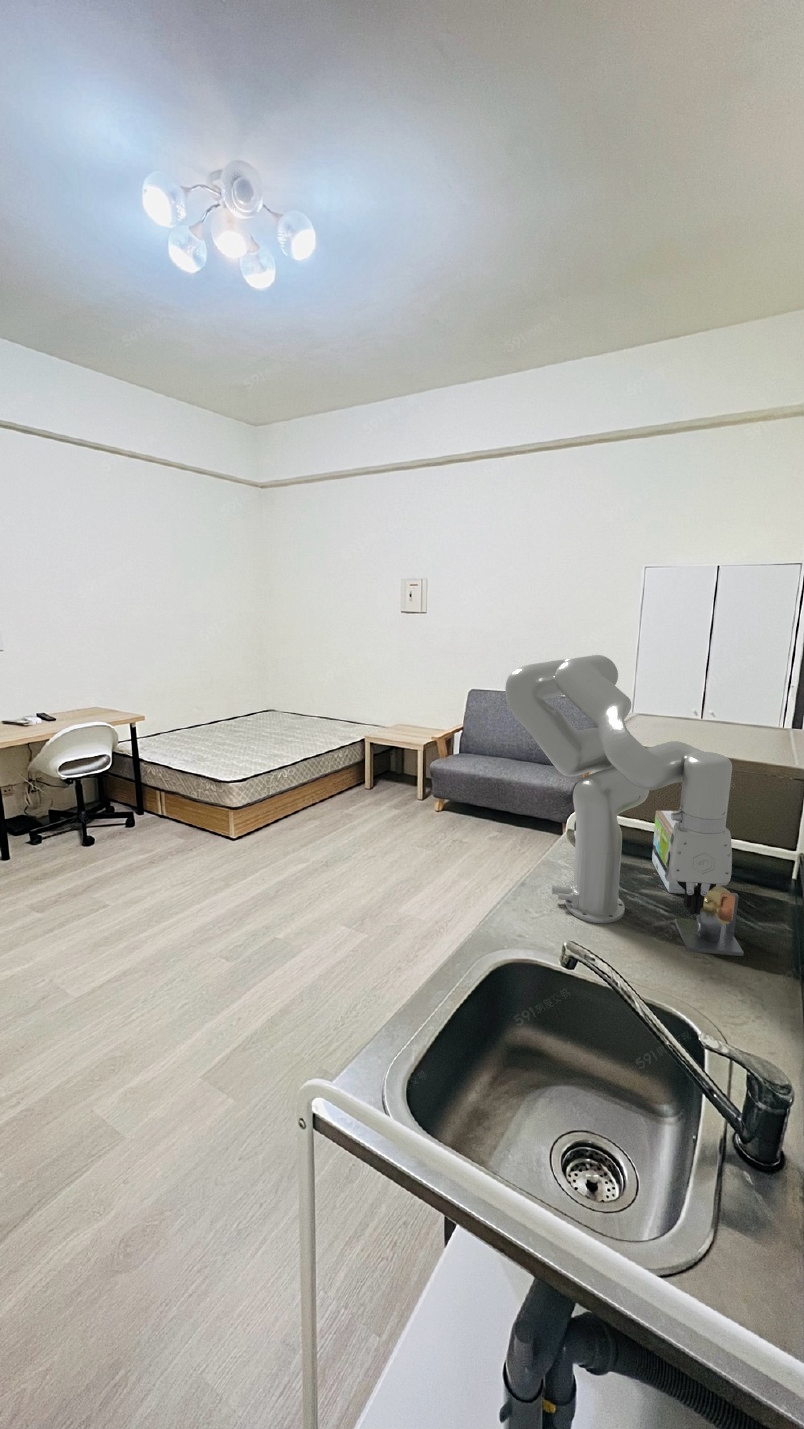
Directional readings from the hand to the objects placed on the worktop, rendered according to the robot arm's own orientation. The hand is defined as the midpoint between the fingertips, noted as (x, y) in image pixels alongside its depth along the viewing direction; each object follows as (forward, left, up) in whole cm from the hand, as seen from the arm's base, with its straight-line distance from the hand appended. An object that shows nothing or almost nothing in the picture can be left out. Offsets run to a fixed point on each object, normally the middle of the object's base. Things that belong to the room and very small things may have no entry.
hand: (692, 910), depth 109 cm
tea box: (+7, +32, -11) cm, 34 cm away
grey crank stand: (+6, +8, -11) cm, 14 cm away
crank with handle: (+6, +5, -3) cm, 8 cm away
